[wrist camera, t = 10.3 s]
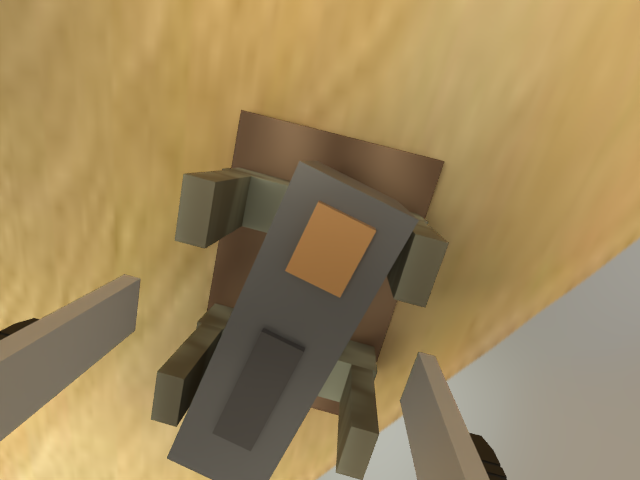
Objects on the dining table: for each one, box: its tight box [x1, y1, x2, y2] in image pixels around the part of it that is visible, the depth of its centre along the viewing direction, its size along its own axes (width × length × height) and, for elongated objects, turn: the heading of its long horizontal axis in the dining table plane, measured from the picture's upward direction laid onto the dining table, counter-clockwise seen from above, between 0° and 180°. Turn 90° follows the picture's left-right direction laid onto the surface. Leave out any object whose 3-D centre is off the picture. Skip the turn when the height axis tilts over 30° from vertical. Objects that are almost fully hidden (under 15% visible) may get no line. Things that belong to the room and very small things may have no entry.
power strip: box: [167, 161, 419, 480], centre depth 17 cm, size 5×16×6 cm, turn 154°
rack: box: [151, 110, 449, 480], centre depth 19 cm, size 13×20×9 cm, turn 166°
